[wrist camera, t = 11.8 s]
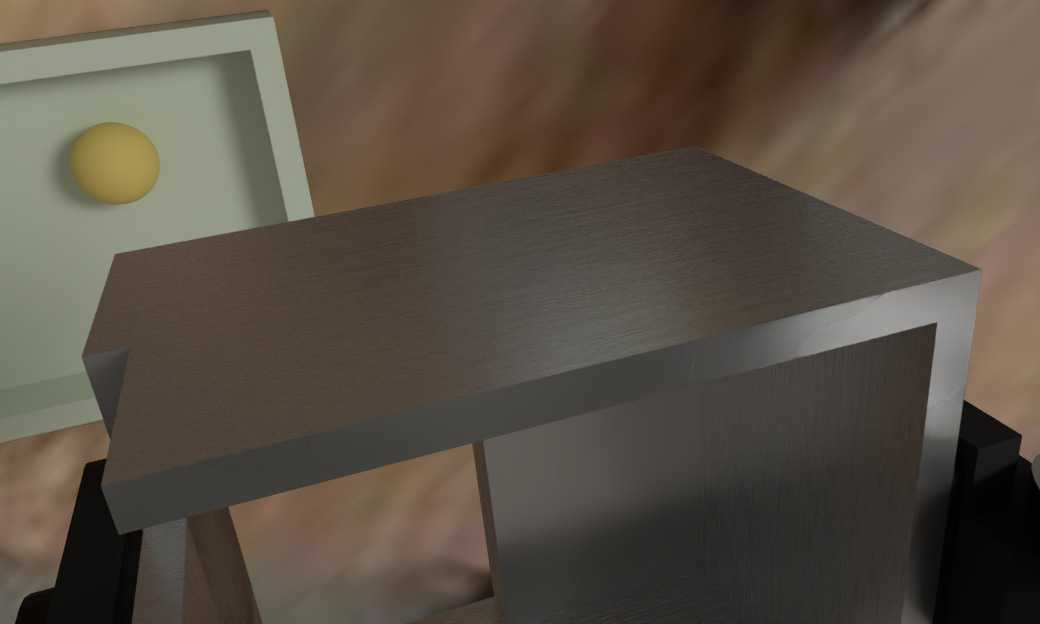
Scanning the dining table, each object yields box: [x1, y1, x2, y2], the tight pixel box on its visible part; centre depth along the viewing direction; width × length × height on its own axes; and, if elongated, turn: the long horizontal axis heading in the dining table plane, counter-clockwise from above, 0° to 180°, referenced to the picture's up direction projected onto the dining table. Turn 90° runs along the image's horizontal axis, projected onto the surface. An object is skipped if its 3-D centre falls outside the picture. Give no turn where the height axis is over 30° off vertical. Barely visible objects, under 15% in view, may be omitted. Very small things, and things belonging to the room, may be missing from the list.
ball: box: [70, 122, 160, 205], centre depth 32 cm, size 3×3×3 cm
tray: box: [0, 10, 314, 443], centre depth 33 cm, size 14×15×4 cm
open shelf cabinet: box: [81, 146, 982, 624], centre depth 10 cm, size 7×7×5 cm
